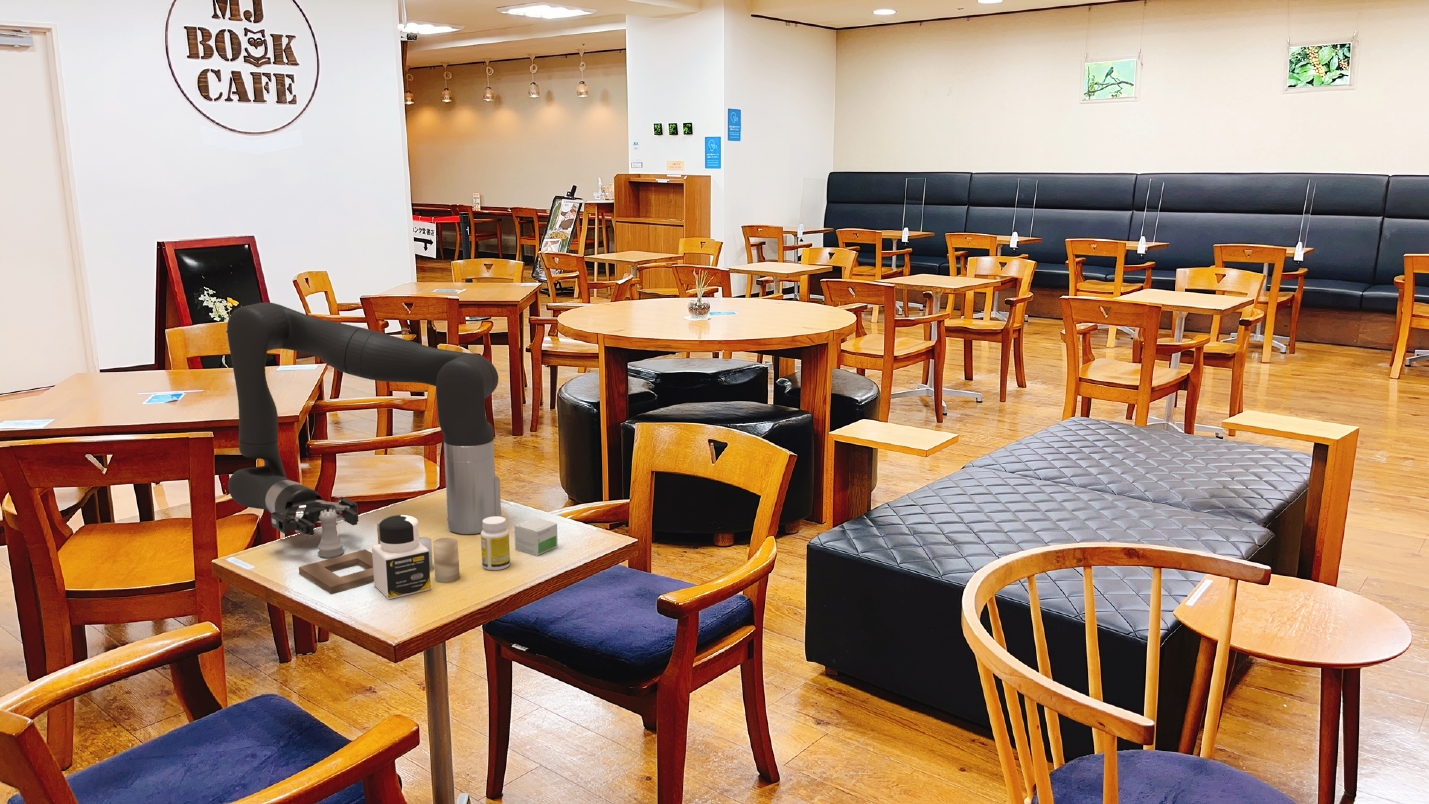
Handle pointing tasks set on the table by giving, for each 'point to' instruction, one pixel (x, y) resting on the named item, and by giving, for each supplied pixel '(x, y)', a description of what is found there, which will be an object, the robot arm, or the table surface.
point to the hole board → (324, 569)
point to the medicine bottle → (400, 558)
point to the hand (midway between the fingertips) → (334, 524)
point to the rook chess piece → (329, 536)
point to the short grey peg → (427, 543)
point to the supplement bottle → (495, 543)
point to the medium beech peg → (446, 560)
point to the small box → (536, 536)
